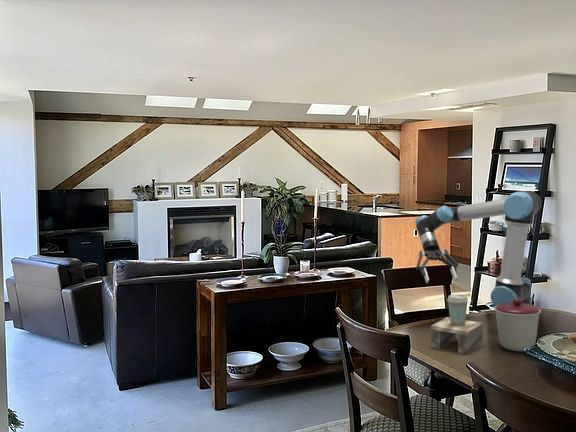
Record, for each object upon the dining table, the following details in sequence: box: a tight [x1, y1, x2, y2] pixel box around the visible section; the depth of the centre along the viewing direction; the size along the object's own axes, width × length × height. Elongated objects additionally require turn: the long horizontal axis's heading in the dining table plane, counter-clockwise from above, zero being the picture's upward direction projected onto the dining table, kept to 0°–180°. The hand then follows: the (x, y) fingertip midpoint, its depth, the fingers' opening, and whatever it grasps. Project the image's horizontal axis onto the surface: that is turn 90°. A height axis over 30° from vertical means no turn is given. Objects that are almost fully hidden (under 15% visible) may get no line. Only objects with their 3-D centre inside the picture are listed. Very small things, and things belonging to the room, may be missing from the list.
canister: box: [493, 298, 542, 352], centre depth 230 cm, size 18×18×21 cm
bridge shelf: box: [430, 317, 484, 356], centre depth 235 cm, size 16×16×10 cm
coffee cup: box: [446, 294, 469, 326], centre depth 235 cm, size 8×9×12 cm
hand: (441, 280), depth 258 cm, fingers open, 13 cm apart
